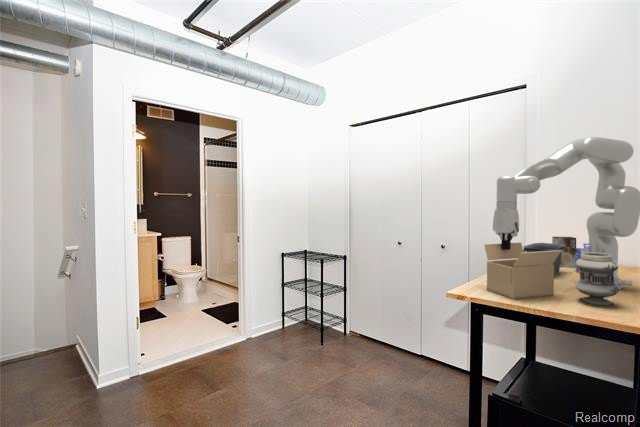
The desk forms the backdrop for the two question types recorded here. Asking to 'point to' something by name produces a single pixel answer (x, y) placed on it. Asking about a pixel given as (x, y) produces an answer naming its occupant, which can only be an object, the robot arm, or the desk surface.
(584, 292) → the apothecary jar
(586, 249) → the ink cartridge box
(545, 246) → the storage bin
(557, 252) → the front flap
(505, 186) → the robot arm
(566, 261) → the coffee box
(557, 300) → the desk surface
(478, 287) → the desk surface
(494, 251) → the back flap
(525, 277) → the carton
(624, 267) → the desk surface
